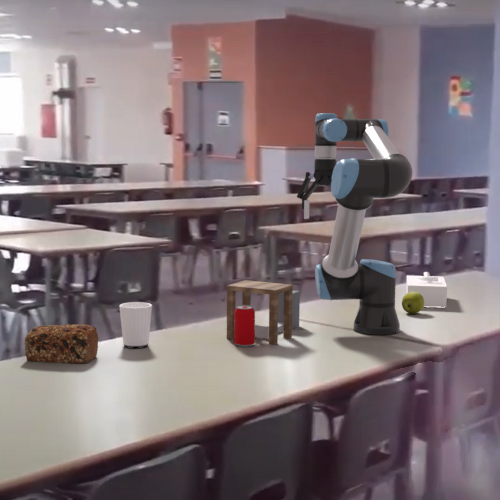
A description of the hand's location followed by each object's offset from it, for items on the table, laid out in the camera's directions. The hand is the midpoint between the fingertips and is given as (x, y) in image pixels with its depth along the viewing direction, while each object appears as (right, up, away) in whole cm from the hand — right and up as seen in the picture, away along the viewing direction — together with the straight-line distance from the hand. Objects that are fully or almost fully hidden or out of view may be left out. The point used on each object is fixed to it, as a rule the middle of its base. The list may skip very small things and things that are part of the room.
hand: (324, 219), depth 321 cm
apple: (+33, -34, +13) cm, 49 cm away
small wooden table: (-23, -38, -29) cm, 53 cm away
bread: (-80, -42, -57) cm, 107 cm away
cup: (-60, -40, -41) cm, 83 cm away
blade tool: (-17, -37, -19) cm, 45 cm away
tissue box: (+42, -31, +37) cm, 64 cm away
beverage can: (-28, -40, -39) cm, 62 cm away
